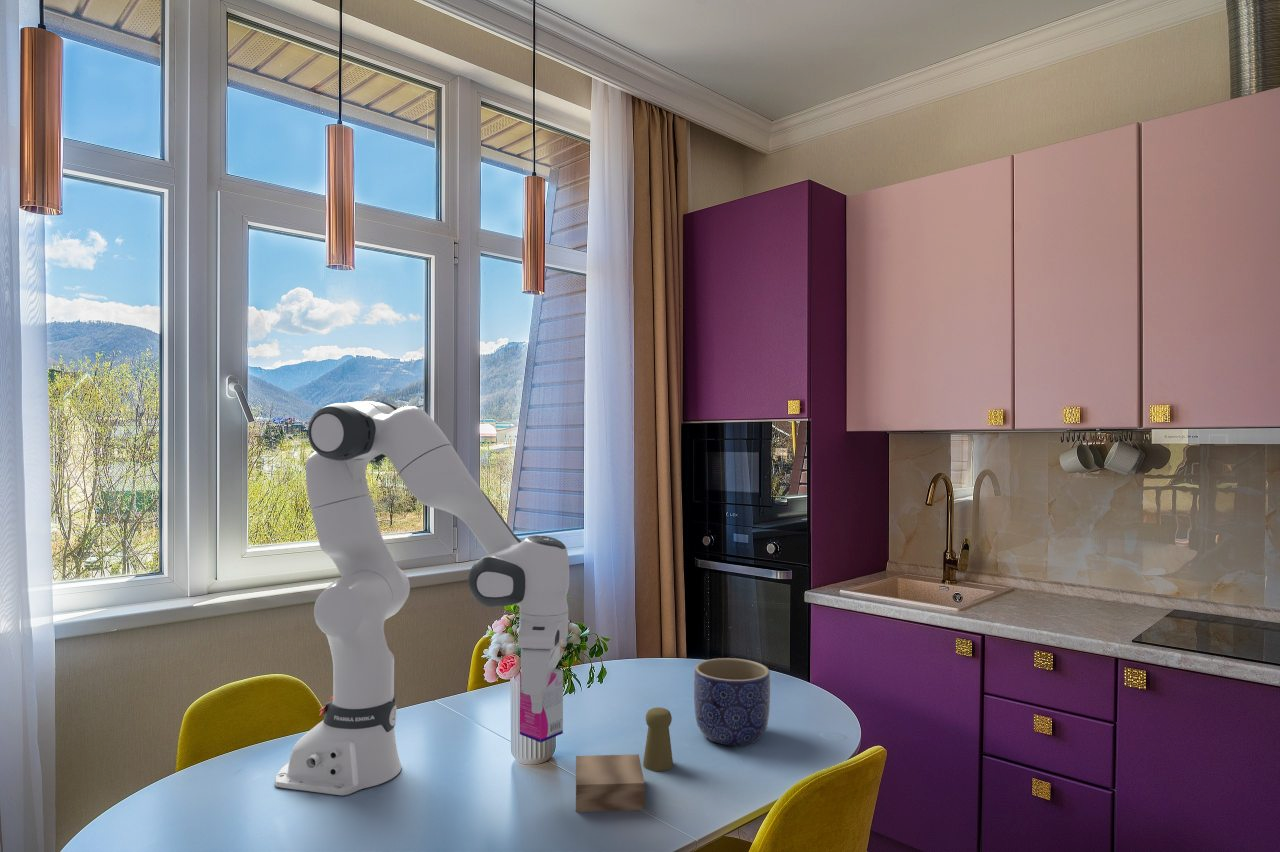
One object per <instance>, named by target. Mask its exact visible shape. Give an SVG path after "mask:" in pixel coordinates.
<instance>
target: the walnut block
mask: <svg viewBox="0 0 1280 852" xmlns="http://www.w3.org/2000/svg"><path fill="white" fill-rule="evenodd" d="M642 769H643V768H642V763H641V758H640V754H638V753H637V754H607V755H606V754H603V755H601V754H597V755H575V812H576V813H580V812H581V813H583V812H612V811H613V812H615V811H618V812H619V811H644V810H645V784H646V783H645V778H644V773H643V770H642Z"/></svg>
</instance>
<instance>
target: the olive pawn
mask: <svg viewBox="0 0 1280 852" xmlns="http://www.w3.org/2000/svg"><path fill="white" fill-rule="evenodd" d="M672 719H673V716H672V713H671V712H670V710H668V709H667V708H664V707H657V706H656V707H652V708H650V709H648V711H647V712H646V714H645V722H646V725H647V733H646V740H645V748H644V755H643V762H642V765H643V767H644V769H646V770H649V771H652V772H666V771H670V770H671V769H672V768H673V767H674V763H673V762H674V760H673V753H672V752H673V751H672V744H671V735H670V726H671V724H672Z"/></svg>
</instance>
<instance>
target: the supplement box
mask: <svg viewBox="0 0 1280 852" xmlns="http://www.w3.org/2000/svg"><path fill="white" fill-rule="evenodd" d="M563 731H564V671H563V670H562V669H559V668H554V669H553V671H552V673H551V678H550V681H549V683H548V685H547V687H546V690H545V692H544V694H543V710H542V712H541V713H540V714H538V713H532V702H531V697H530V695H529V694H524V692H523V688H522V676H521V671H520V672H519V735H520V736H523V737H526V738H527V739H531V740H533V741H535V742H538V743H543V742H546V741H547V740H551V739H552V738H555V737H559V736H561V735H562V734H564V732H563Z"/></svg>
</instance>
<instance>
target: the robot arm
mask: <svg viewBox="0 0 1280 852" xmlns="http://www.w3.org/2000/svg"><path fill="white" fill-rule="evenodd" d="M307 426H308V427H307V437H308V441H309V445H310V446H311V447H312V450H314V452H313V453H311V454H310V455H309V456H308V457H307V459H306V462H305V482H306V484H305V485H306V491H307V498H308V503H309V508H310V511H311V512H310V513H311V515H312V519H313V522H314V523H313V524H314V527H315V531H316V535H317V539H318V543H319V546H320V549H321V550H322V551H323V552H324V553H325V554H326V555H327V556H328V557H329V558H330V559H331V561H333V563H334V565H335V566H336V568H337V570H338V572H339V574H340V576H341V578H338V579H336V580H334V581H333V582H332V583H330V584H329V585H328V586H327V587H325V589H324V590H323V591H322V592H321V593H320V594H319V595H318V597H317V598H316V600H315V603H314V606H313V617H314V621H315V624H316V626H317V627H318V629H320V631H321V632H322V633H324V634H325V635H326V639H327V641H328V645H329V650H330V653H331V658H332V659H331V660H332V668H333V670H332V673H333V674H332V675H333V677H332V679H333V681H332V682H333V683H332V686H333V687H332V688H333V689H332V693H333V694H332V696H331V697H330V698H329V700H328V701H327V702H325V704H323V706H322V708H320V709H319V712H320V713H319V717H321V716H323V720H321V721H320V722H318V723H317V724H316V725H315V726H313V728H311V729H310V730H309V731H308V732H306V733H305V734H304V735H302V736H301V737H300V738H299V739H298V740H297V742H295V744H294V745H293V747H292V750H291V753H290V756H289V761H288V762H287V763H285V765H283V766H282V768H280V769H279V771H278V772H277V774H276V775H275V779H274V780H275V781H274V786H275V787H276V788H281V789H290V790H295V791H296V790H297V791H303V792H305V791H306V792H312V793H313V792H314V793H320V794H328V795H336V796H348V795H350V794H352V793H356V792H358V791H360V790H363V789H367V788H372V787H374V786H378V785H381V784H384V783H387V782H388V781H390V780H392V779H393V778H395V777H396V776H398V774H399V773H400V772H401V770H402V763H401V760H400V757H399V751H398V748H397V747H398V746H397V740H396V734H395V733H396V731H395V726H396V722H397V698H396V697H397V696H396V695H395V694H394V691H395V689H394V687H395V685H394V684H395V656H394V654H393V653H392V651H391V650H390V649H389V646H388V644H387V638H386V636H385V635H386V634H385V622H386V620H387V619H389V618H391V617H394V616H395V615H396V614H397V613H399V611H400V610H401V609H402V608H403V606H404V605H405V603H406V602H407V600H408V598H409V596H410V592H411V583H410V580H409V578H408V576H407V574H406V573H405V572H404V571H403V569H401V568H400V567H399V566H398V565H397V563H396V561H395V559H394V558H393V556H392V554H391V552H390V551H389V548H388V547H387V544H386V542H385V540H384V537H383V535H382V533H381V530H380V527H379V522H378V520H377V516H376V512H375V508H374V504H373V500H372V497H371V493H370V489H369V486H368V481H367V476H366V472H367V471H366V470H367V467H368V465H369V463H373V464H376V463H378V462H380V461H382V460H383V459H385V458H387V459H388V460H389V461H390V462H391V464H392V466H393V467H394V469H395V470H396V472H397V474H398V477H400V480H402V482H403V484H404V486H405V487H406V489H407V490H408V491H409V492H410V493H411V495H413V497H414V498H415V499H416V500H417V501H418V502H419V503H421V504H422V505H424V506H427V507H429V508H433V509H437V510H441V511H443V512H446V513H449V514H451V515H453V516H455V517H457V518H458V519H460V520H461V521H462V522H463V523H465V525H466V526H467V527H468V529H469V530H470V531H471V532H472V534H473V535H474V538H476V540H477V541H478V543H479V544H480V545H481V546H482V548H483V549H484V551H485V553H486V554H487V555H485V556H483V557H482V558H480V559H478V560H477V561H476V562H474V564H473V565H472V567H471V568H470V570H469V573H468V578H467V583H468V584H467V585H468V589H469V592H470V594H471V596H472V597H473V599H474V600H475V601H476V602H477V603H479V604H480V605H482V606H483V607H484V606H485V607H488V608H500V607H507V606H513V605H517V606H518V607H519V613H518V615H519V617H518V618H519V623H518V624H519V625H518V636H517V648H519V649H521V650H520V672H521V676H522V688H523V692H524V694H529V695H530V697H531V702H532V713H538V714H540V713H541V712H542V710H543V694H544V692H545V690H546V687H547V685H548V683H549V681H550V678H551V673H552V671H553V669H554V668H555V669H557V668H556V667H557V665H558V663H559V659H560V646H561V644H562V643H561V642H562V641H563V640H564V639H566V638H567V637H568V635H569V605H568V600H567V596H568V591H569V589H570V563H569V562H570V561H569V555H568V554H569V553H568V550H567V547H566V545H565V544H564V543H563V542H562V541H561V540H559V539H558V538H554V537H552V536H551V537H550V536H547V535H546V536H545V535H530V536H527V537H526V538H525V539H523V540H521V539H520V538H519V537H518V536H517V535H516V534H515V533H514V531H513V530H512V529H511V528H510V526H509V524H507V522H506V521H505V519H504V518H503V517H502V515H501V514H500V512H499V511H498V510H497V509H496V507H495V506H494V504H493V503H492V501H491V500H490V499H489V497H488V496H487V495H486V494H485V492H484V491H483V490H482V489H481V488H480V486H479V484H478V483H477V482H476V480H475V479H474V478H473V476H472V475H471V474H470V472H469V470H468V468H467V467H466V466H465V464H464V462H463V460H462V459H461V457H460V456H459V454H458V452H457V451H456V450H455V448H454V447H453V445H452V443H451V442H450V440H449V439H448V437H447V436H446V435H445V433H444V432H443V430H442V429H441V428H440V427H439V425H438V424H437V423H436V422H435V421H434V419H432V417H431V416H430V415H429V414H428V413H427V412H426V411H425V410H424V409H422V408H421V407H418V406H412V405H410V406H403V407H400V408H399V407H397V406H396V405H394V404H393V403H392V404H391V403H389V402H384V401H377V402H376V401H369V400H356V401H352V402H346V403H345V402H344V403H343V402H336V403H331V404H329V405H326V406H323V407H321V408H320V409H318V410H316V411H315V412H314V414H313V415H312V416H311V418H310V420H309V423H308V425H307Z"/></svg>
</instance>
